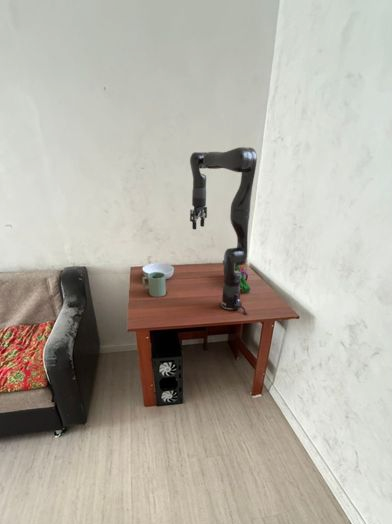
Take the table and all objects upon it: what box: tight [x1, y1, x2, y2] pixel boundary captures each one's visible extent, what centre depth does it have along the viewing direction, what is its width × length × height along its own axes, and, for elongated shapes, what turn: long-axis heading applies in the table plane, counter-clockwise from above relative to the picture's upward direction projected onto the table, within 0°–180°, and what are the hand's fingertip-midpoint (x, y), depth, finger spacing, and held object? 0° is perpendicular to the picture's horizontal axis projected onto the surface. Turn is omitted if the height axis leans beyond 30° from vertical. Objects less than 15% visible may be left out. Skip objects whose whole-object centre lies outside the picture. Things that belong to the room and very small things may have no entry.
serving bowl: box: [142, 262, 175, 280], centre depth 196 cm, size 21×21×7 cm
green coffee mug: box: [142, 272, 167, 298], centre depth 176 cm, size 14×10×12 cm
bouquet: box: [222, 259, 251, 293], centre depth 189 cm, size 20×16×30 cm
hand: (198, 227), depth 168 cm, fingers open, 8 cm apart
